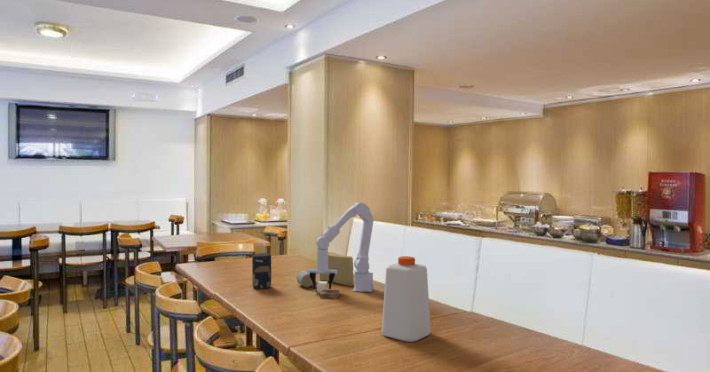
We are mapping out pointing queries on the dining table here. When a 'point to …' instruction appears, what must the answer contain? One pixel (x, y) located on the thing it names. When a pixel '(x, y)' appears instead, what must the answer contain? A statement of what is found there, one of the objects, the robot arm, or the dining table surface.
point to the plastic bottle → (406, 301)
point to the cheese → (340, 269)
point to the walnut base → (329, 294)
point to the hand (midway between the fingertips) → (322, 288)
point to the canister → (261, 270)
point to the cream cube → (322, 286)
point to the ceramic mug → (304, 279)
